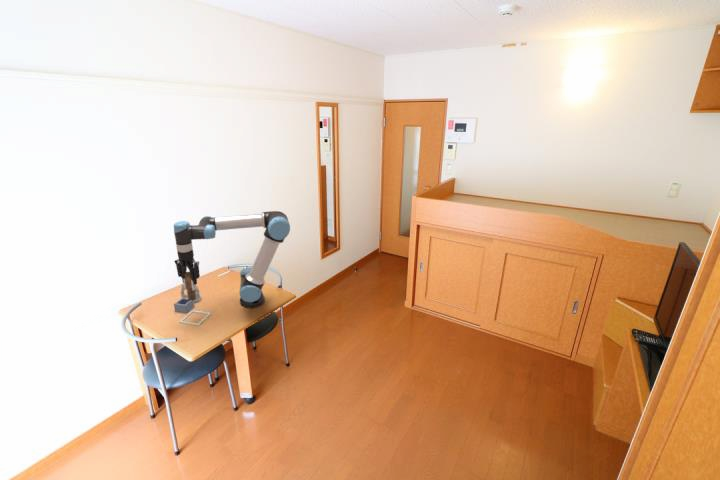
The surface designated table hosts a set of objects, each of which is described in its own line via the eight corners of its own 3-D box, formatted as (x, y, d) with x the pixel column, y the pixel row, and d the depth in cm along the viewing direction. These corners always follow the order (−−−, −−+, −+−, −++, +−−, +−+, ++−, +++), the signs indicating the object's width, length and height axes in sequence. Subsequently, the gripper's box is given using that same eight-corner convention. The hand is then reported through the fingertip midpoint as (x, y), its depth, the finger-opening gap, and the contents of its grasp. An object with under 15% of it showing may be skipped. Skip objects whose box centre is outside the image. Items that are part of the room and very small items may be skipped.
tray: (211, 315, 197) (211, 313, 197) (198, 327, 186) (198, 324, 186) (193, 312, 199) (192, 310, 199) (179, 324, 188) (179, 321, 187)
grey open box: (194, 307, 204) (193, 299, 202) (186, 314, 197) (185, 305, 195) (183, 306, 205) (182, 297, 203) (175, 312, 198) (173, 304, 196)
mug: (197, 304, 207) (195, 287, 203) (178, 303, 207) (175, 286, 203) (203, 298, 214) (201, 282, 210) (185, 297, 214) (182, 281, 210)
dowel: (197, 297, 189) (194, 272, 183) (193, 300, 185) (189, 275, 180) (191, 296, 190) (187, 271, 184) (186, 299, 186) (182, 274, 180)
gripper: (203, 249, 179) (208, 287, 188) (175, 245, 182) (181, 283, 190) (195, 254, 172) (200, 294, 181) (165, 250, 175) (172, 289, 183)
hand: (190, 288), depth 185 cm, fingers closed on dowel, 4 cm apart
